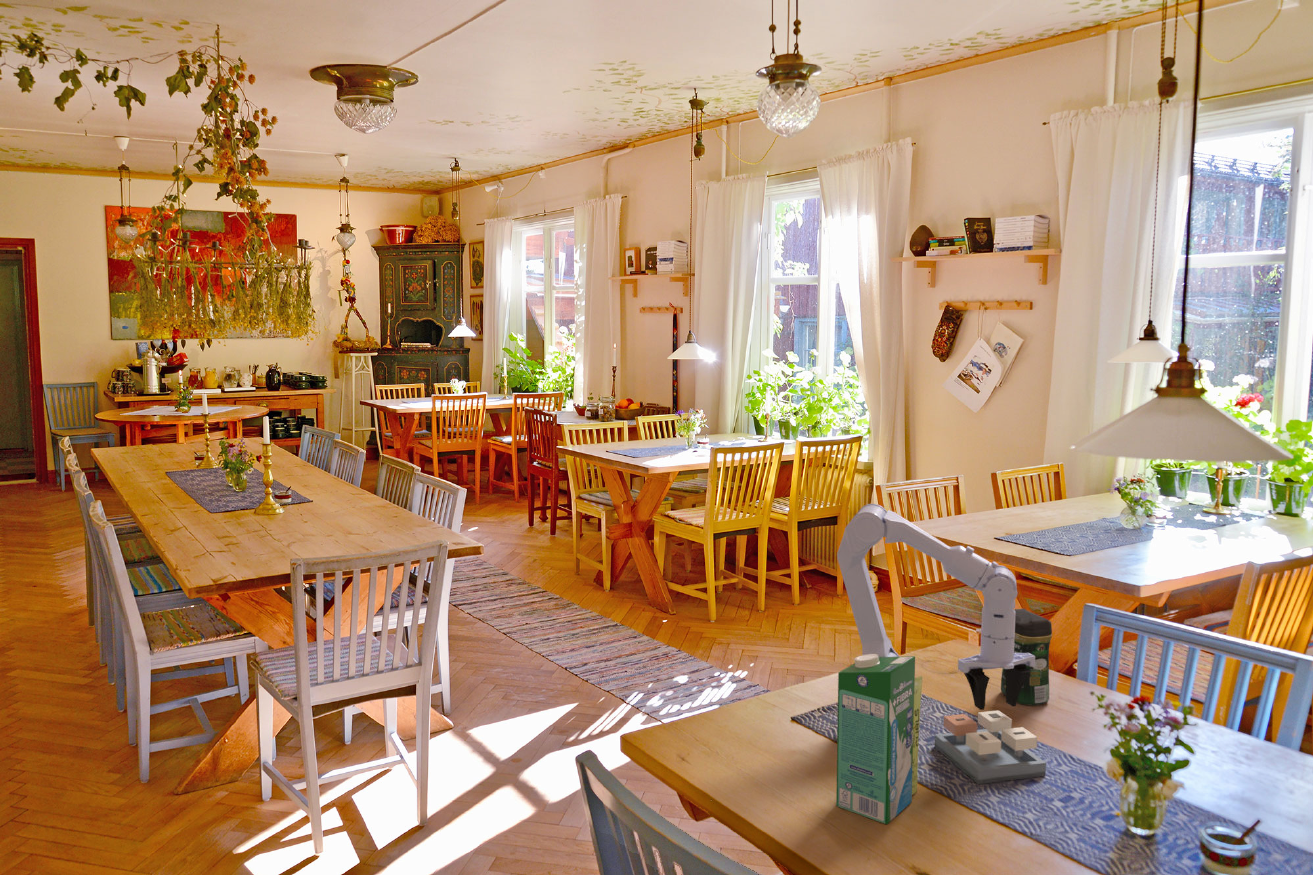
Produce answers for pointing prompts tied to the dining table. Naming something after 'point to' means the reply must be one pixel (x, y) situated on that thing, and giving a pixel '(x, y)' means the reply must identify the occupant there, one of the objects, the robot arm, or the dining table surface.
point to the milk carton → (875, 736)
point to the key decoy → (960, 725)
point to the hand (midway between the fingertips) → (995, 706)
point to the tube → (916, 731)
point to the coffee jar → (1035, 640)
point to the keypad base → (990, 761)
